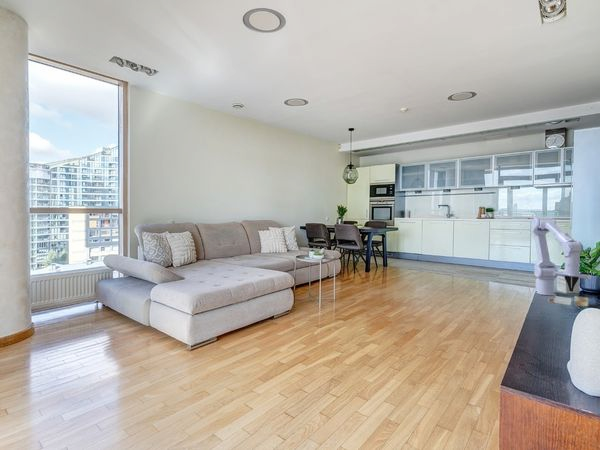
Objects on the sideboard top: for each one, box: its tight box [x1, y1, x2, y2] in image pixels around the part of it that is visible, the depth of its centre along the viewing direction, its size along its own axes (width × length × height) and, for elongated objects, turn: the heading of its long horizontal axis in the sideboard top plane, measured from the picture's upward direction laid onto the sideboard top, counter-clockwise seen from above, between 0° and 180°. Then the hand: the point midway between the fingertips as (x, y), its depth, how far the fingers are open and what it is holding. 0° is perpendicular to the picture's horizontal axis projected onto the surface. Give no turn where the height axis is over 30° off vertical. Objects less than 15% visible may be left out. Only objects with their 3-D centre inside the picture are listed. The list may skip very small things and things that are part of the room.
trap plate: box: [547, 298, 555, 304], centre depth 164 cm, size 3×7×1 cm, turn 137°
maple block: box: [574, 295, 589, 307], centre depth 156 cm, size 5×4×4 cm
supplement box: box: [556, 269, 580, 294], centre depth 181 cm, size 7×7×13 cm
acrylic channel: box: [554, 295, 572, 306], centre depth 161 cm, size 6×7×2 cm
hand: (571, 291), depth 159 cm, fingers closed
